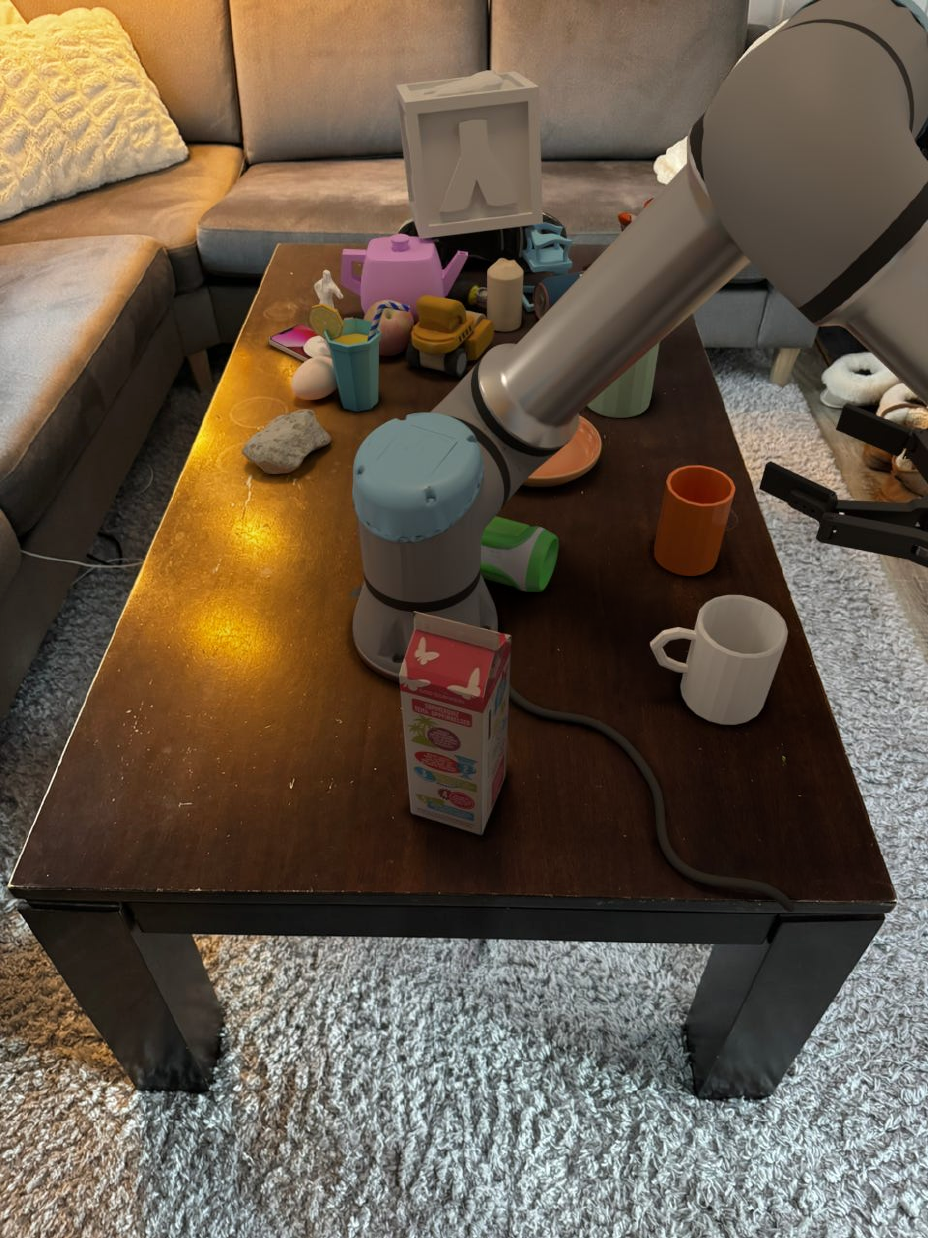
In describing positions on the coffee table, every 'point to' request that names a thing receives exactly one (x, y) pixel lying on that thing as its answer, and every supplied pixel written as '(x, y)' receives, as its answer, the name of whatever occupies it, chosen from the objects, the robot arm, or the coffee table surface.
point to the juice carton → (455, 719)
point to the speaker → (518, 554)
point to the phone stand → (545, 254)
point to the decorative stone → (286, 442)
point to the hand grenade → (468, 293)
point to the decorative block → (472, 153)
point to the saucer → (569, 458)
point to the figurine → (327, 288)
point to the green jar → (629, 389)
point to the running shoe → (486, 243)
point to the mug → (728, 658)
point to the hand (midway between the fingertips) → (803, 444)
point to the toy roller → (447, 335)
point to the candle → (505, 295)
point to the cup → (353, 352)
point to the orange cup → (693, 519)
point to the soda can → (552, 291)
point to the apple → (392, 328)
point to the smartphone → (293, 340)
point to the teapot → (399, 271)
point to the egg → (314, 379)
